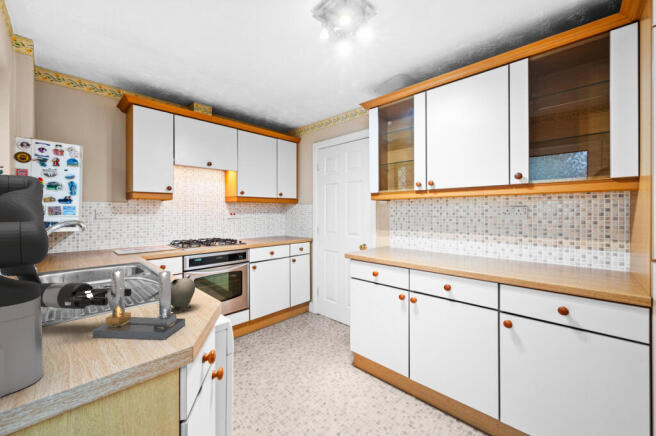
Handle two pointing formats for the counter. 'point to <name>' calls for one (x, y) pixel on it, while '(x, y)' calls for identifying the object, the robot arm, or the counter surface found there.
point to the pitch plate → (147, 319)
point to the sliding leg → (118, 300)
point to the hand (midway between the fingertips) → (119, 296)
